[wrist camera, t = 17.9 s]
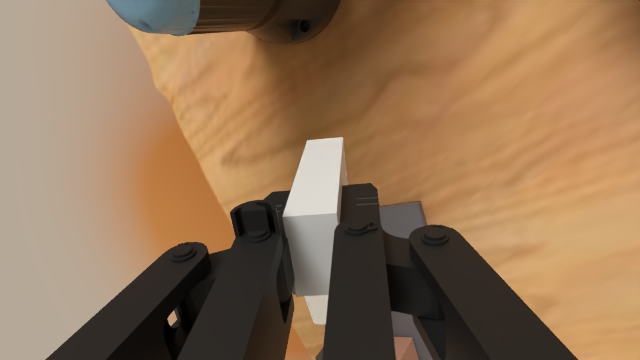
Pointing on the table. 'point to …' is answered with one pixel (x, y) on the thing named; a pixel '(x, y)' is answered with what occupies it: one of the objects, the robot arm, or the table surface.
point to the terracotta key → (405, 348)
